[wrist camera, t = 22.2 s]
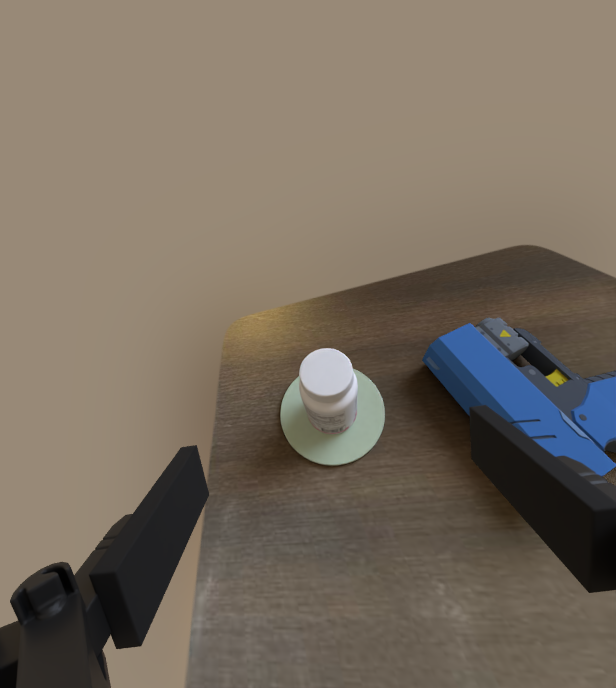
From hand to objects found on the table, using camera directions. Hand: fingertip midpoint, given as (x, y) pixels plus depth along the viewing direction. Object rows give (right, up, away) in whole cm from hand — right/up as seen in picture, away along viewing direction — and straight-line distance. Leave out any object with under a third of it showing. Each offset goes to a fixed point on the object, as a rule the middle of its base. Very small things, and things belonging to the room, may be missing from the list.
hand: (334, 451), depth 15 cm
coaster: (+1, -1, +16) cm, 16 cm away
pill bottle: (+1, -1, +15) cm, 15 cm away
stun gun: (+20, 0, +14) cm, 25 cm away
